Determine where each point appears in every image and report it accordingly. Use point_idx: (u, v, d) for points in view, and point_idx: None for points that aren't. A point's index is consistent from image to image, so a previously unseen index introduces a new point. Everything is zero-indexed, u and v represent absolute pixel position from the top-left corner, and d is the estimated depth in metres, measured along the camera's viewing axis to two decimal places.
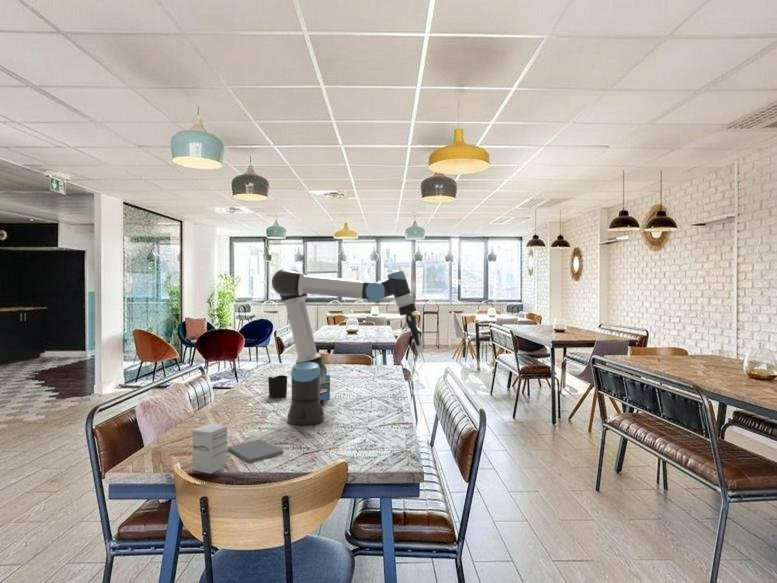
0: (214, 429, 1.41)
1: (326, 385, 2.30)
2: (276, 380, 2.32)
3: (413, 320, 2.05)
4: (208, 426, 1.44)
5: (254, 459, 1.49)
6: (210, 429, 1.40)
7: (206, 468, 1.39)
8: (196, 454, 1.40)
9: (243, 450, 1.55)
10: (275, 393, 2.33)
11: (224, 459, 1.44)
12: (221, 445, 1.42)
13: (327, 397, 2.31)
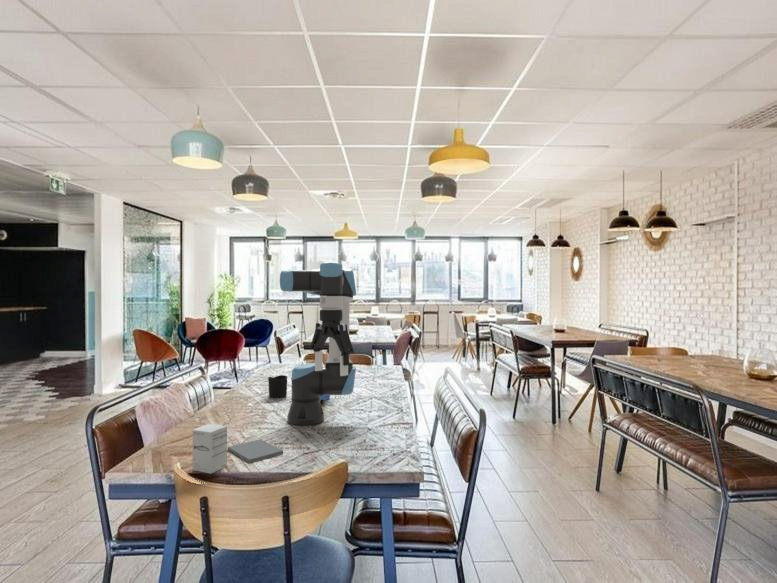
0: (214, 429, 1.41)
1: None
2: (276, 380, 2.32)
3: (326, 331, 1.55)
4: (208, 426, 1.44)
5: (254, 459, 1.49)
6: (210, 429, 1.40)
7: (206, 468, 1.39)
8: (196, 454, 1.40)
9: (243, 450, 1.55)
10: (275, 393, 2.33)
11: (224, 459, 1.44)
12: (221, 445, 1.42)
13: (327, 397, 2.31)
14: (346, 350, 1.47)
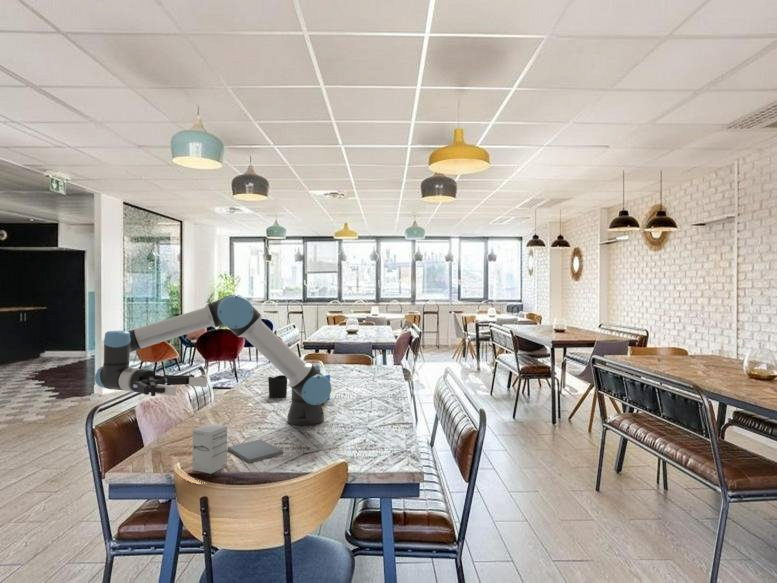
0: (214, 429, 1.41)
1: None
2: (276, 380, 2.32)
3: None
4: (208, 426, 1.44)
5: (254, 459, 1.49)
6: (210, 429, 1.40)
7: (206, 468, 1.39)
8: (196, 454, 1.40)
9: (243, 450, 1.55)
10: (275, 393, 2.33)
11: (224, 459, 1.44)
12: (221, 445, 1.42)
13: None
14: None
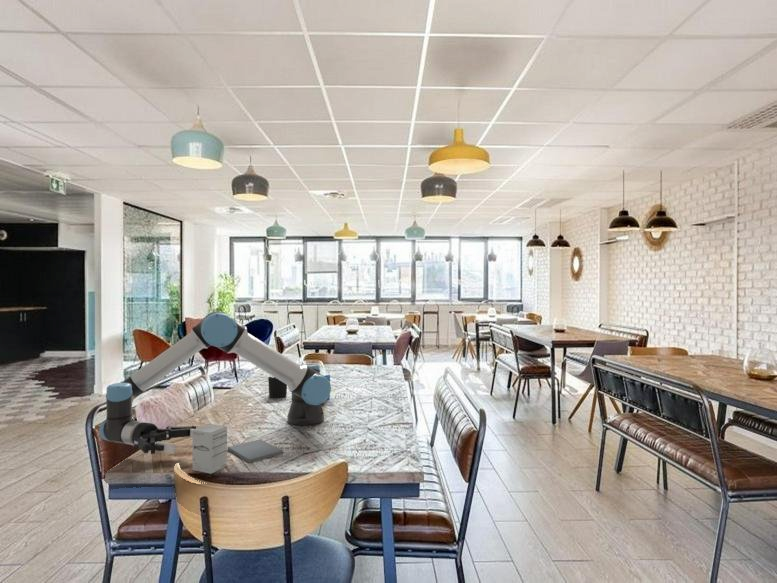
0: (214, 429, 1.41)
1: None
2: (276, 380, 2.32)
3: None
4: (208, 426, 1.44)
5: (254, 459, 1.49)
6: (210, 429, 1.40)
7: (206, 468, 1.39)
8: (196, 454, 1.40)
9: (243, 450, 1.55)
10: (275, 393, 2.33)
11: (224, 459, 1.44)
12: (221, 445, 1.42)
13: None
14: None
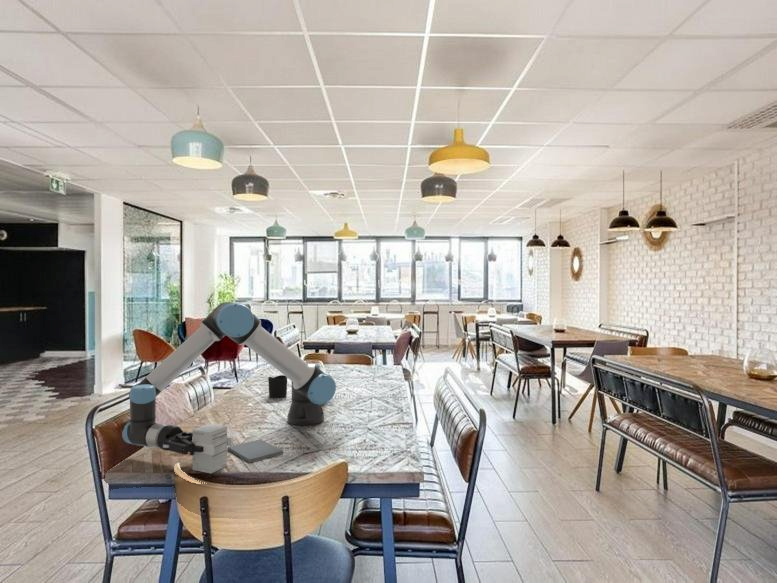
0: (214, 429, 1.41)
1: None
2: (276, 380, 2.32)
3: None
4: (208, 426, 1.44)
5: (254, 459, 1.49)
6: (210, 429, 1.40)
7: (206, 468, 1.39)
8: (196, 454, 1.40)
9: (243, 450, 1.55)
10: (275, 393, 2.33)
11: (224, 459, 1.44)
12: (221, 444, 1.42)
13: None
14: None
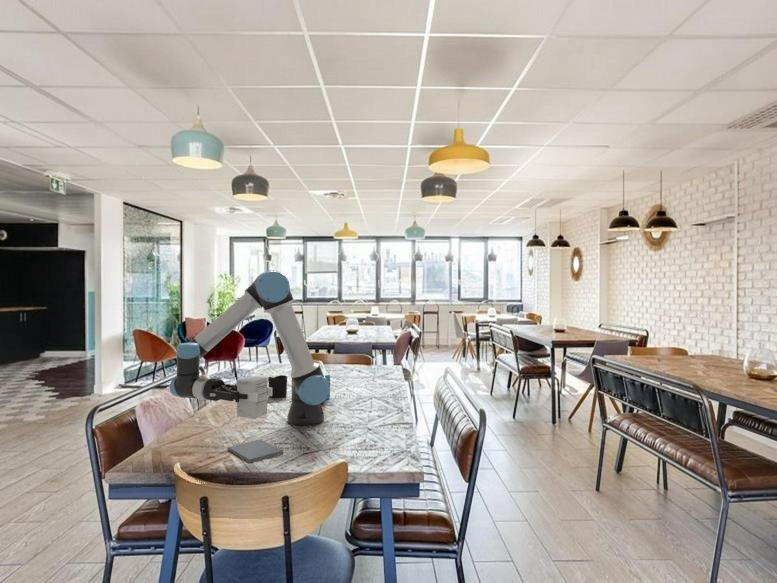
0: (256, 379, 1.55)
1: None
2: (276, 380, 2.32)
3: None
4: (250, 377, 1.57)
5: (254, 459, 1.49)
6: (253, 379, 1.54)
7: (249, 414, 1.53)
8: (240, 401, 1.54)
9: (243, 450, 1.55)
10: (275, 393, 2.33)
11: (264, 408, 1.57)
12: (262, 394, 1.56)
13: (327, 397, 2.31)
14: None
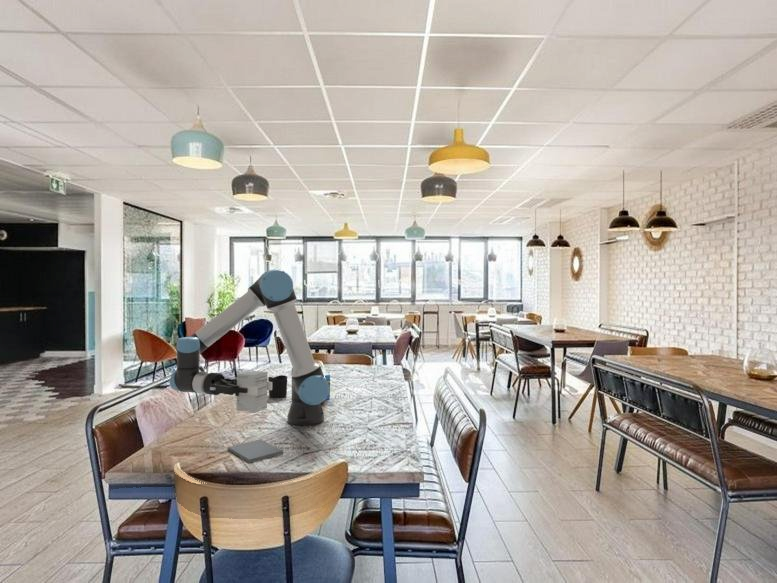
0: (256, 373, 1.55)
1: None
2: (276, 380, 2.32)
3: None
4: (250, 371, 1.57)
5: (254, 459, 1.49)
6: (253, 373, 1.54)
7: (249, 408, 1.53)
8: (240, 395, 1.54)
9: (243, 450, 1.55)
10: (275, 393, 2.33)
11: (264, 402, 1.57)
12: (262, 388, 1.56)
13: (327, 397, 2.31)
14: None
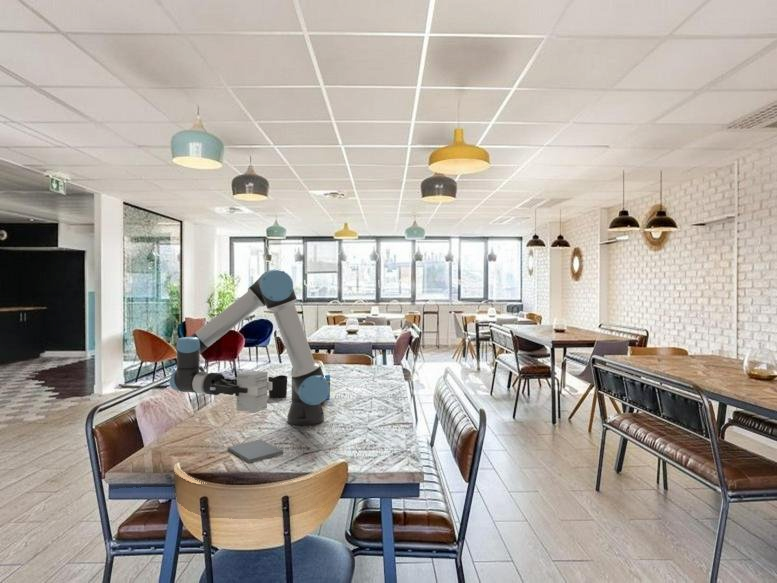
0: (256, 373, 1.55)
1: None
2: (276, 380, 2.32)
3: None
4: (250, 371, 1.57)
5: (254, 459, 1.49)
6: (253, 373, 1.54)
7: (249, 408, 1.53)
8: (240, 395, 1.54)
9: (243, 450, 1.55)
10: (275, 393, 2.33)
11: (264, 402, 1.57)
12: (262, 388, 1.56)
13: (327, 397, 2.31)
14: None
